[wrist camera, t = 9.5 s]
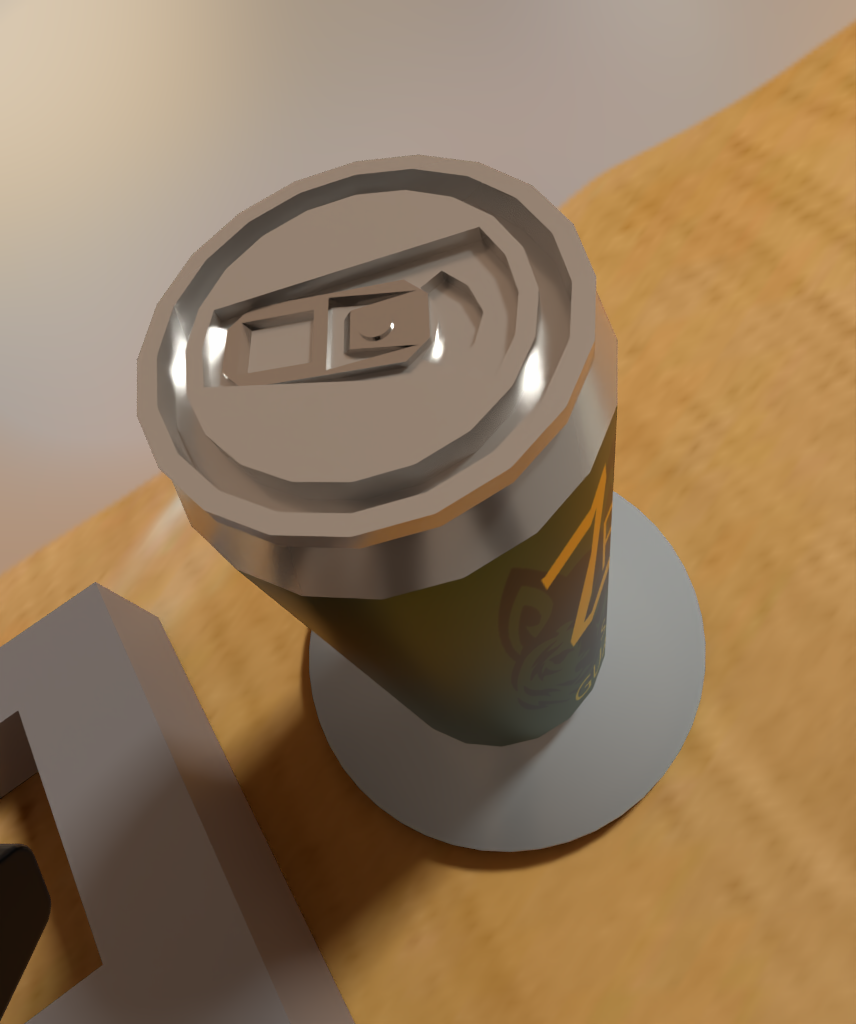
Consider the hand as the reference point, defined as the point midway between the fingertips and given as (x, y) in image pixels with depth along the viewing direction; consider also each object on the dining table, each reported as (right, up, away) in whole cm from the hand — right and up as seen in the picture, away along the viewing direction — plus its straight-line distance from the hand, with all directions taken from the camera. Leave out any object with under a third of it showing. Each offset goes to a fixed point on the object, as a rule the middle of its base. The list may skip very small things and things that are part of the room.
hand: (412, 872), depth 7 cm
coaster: (+2, 0, +11) cm, 11 cm away
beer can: (+2, 0, +11) cm, 11 cm away
